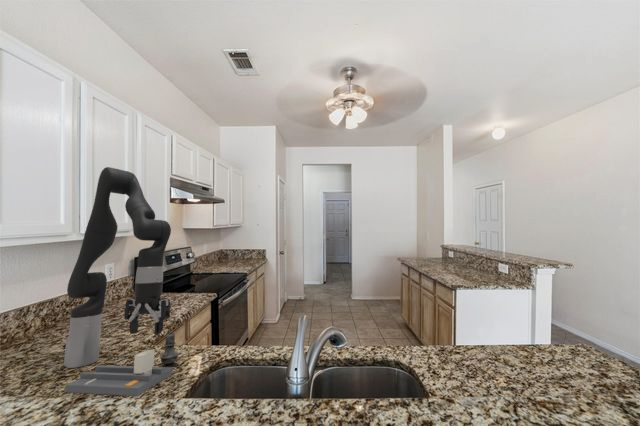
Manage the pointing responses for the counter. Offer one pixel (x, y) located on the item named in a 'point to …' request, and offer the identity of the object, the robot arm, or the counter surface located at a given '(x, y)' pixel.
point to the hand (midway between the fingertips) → (145, 333)
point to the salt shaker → (169, 351)
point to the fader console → (117, 380)
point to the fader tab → (144, 362)
